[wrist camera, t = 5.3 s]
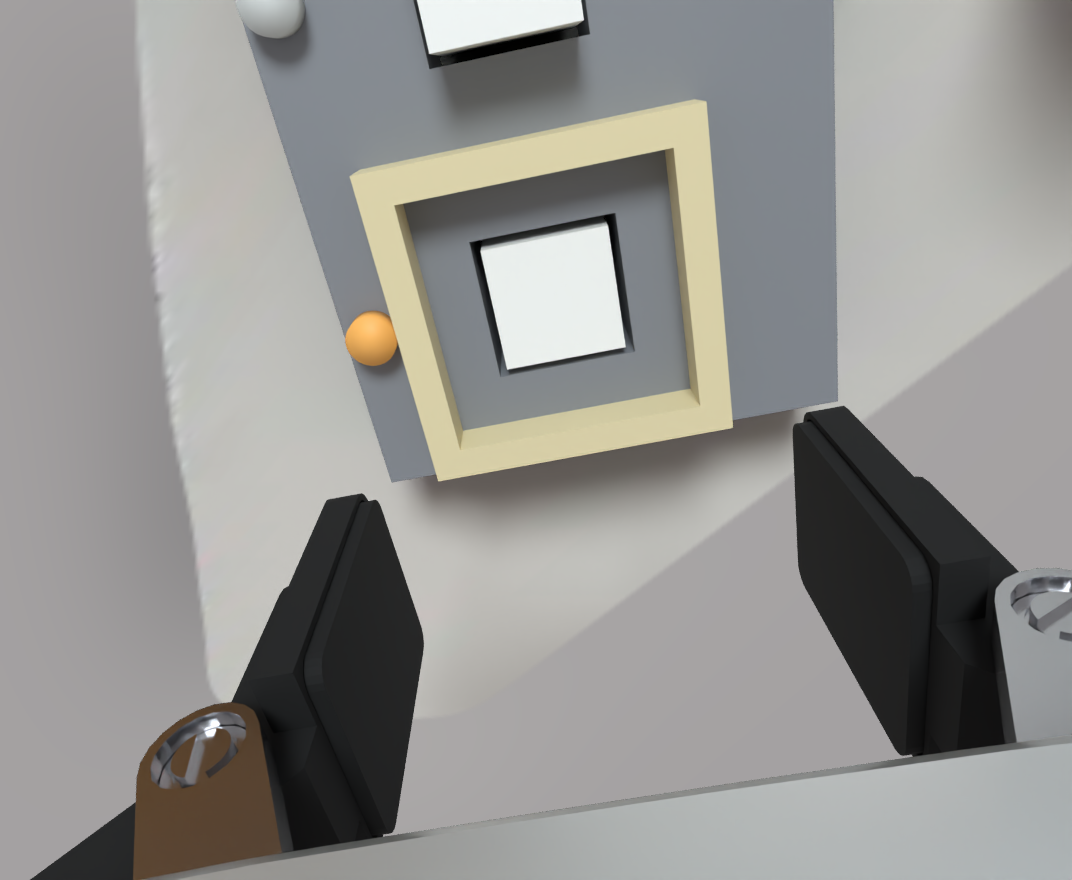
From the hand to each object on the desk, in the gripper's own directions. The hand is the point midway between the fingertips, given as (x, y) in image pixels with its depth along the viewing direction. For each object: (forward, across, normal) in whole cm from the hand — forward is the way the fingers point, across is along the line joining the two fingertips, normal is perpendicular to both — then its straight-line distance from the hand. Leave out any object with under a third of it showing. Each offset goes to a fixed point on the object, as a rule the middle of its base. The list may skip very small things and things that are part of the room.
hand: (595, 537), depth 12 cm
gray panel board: (+18, -1, -5) cm, 18 cm away
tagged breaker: (+18, 0, 0) cm, 18 cm away
